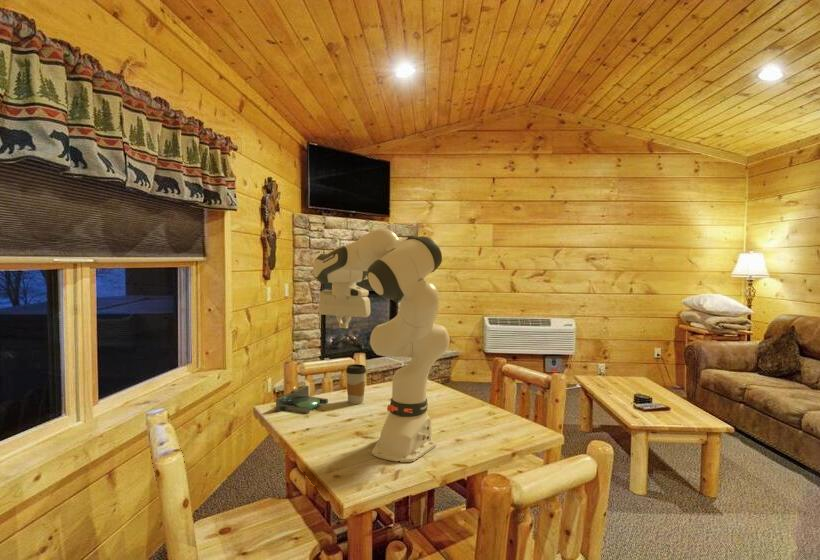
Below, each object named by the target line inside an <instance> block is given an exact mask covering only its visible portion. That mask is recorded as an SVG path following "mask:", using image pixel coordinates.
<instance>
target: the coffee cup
mask: <svg viewBox="0 0 820 560" xmlns="http://www.w3.org/2000/svg"><path fill="white" fill-rule="evenodd" d="M345 372H346V391H347V401H348V403H349V404H350V405H351V404H352V405H360V404H363V403H364V399H365V388H366V372H367V368H366V365H365V364H361V363H360V364H357V363H356V364H354V363H353V364H348V365H347V368H346V370H345Z"/></svg>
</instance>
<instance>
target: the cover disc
mask: <svg viewBox="0 0 820 560" xmlns="http://www.w3.org/2000/svg"><path fill="white" fill-rule="evenodd" d="M311 397H312V396H310V397H307V398H300V399H297V400H295V401H294V405H293V406H294V407H301V408H307V409H310V411H314V409H315V410H318V409H320V407H321V403H320V400H319V399H317V398H318V397H317V398H311ZM317 408H318V409H317Z"/></svg>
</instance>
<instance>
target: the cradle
mask: <svg viewBox="0 0 820 560" xmlns="http://www.w3.org/2000/svg"><path fill="white" fill-rule="evenodd" d="M309 387H310V386H309V385H304V386H302V387H299V388H297V389H296V386H291V387H290V392H288V393H286V394H283V395H282V396H279V397H276V398H275V411H276V412H277V413H280V412H282V411H286V410H288V412H292V411H295V412H294V413H298V412H299V413H300V414H306V415H308V414H309V413H310V412H311V410H310V409H307V408H301V407H294V405H293V404H294V401H295V400H297V399H300V398H307V397H311V398H317V399H319V400H320V404H324V405H325V404H329V398H323V397H315V396H309V393H310V392H309V390H310V389H309ZM291 405H293V406H291Z"/></svg>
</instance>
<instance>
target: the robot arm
mask: <svg viewBox="0 0 820 560" xmlns="http://www.w3.org/2000/svg"><path fill="white" fill-rule="evenodd" d="M442 262H443V255H442V250H441V249H440V246H439V244H438V243H437V242H436V241H435V240H434V239H432V238H430V237H427V236H413V235H408V236H407V237H406V239H400V238H399V237H398V235H397V234H396V233H395V231H392V230H391V229H389V228H377V229H373V230H371V231H370V232H368V233H366V234H365V235H364V236H362V237H361V238H359V239H358V240H355V241H353V242H351V243H349V244H345V245H341V246H337V247H335V248H334V250H333V251H330V252H329V253H320V254H319V255H317V256H316V257H315V259H314V262H313V267H312V271H313V272H312V273H313V276H314V279H316V280H317V282H319V283H320V284H329V283H330V284H331V289H322V290H321V291H320V292H319V296H318V297H319V299H318V300H319V301H318V308H317V309H318V310H317V311H318V313H319V315H325V316H336V318H335V319H336V321H337V322H338V327H339V329H349V323H350V322H351V320H352V317H356V318H367V317H369V316H370V315H371V310H372V309H371V300H370V298H369V297H368V296H369V294H370V293H369V292H370V291H369V290H367V289H366V288H365V287H364V288H363V287H360V286H358V285H357V283H361V282H363V281H364V280H365V279H366V278H367V281H368V283H369V286H370V287H371V289H372V290H373V291H374V292H375V293H376V294H377V295H378V296H379V297H381V298H384V299H386V300H391V301H393V302H400V303H399V306H398V308H399V309H398V312H397V315H395V316H394V317H393V318H392V319H390V320H388V321H386V322H384V323H381V324H378V325H376V326H375V327H374V328H373V330H372V331H371V334H370V338H369V342H370V343H369V344H370V348H371V349H372V351H373V353H375V354H376V355H377V356H382V357H385V358H386V357H387V358H411V359H410V361H409V363H408V364H406V365H405V366H403V367H400V368H399V369H397V370H396V371H395V372H394V373H393V376H392V389H391V390H392V392H391V399H390V403H389V404H388V405H387V406H386V411H387V412H388V414H387V416H386V419H385V422H384V423H383V426H382V429H381V431H380V434H379V435H380V437H379V439H378V440H377V442H376V443H375V445H374V447H373V449H372V450H371V455H373V456H374V457H376V458H379V459H382V460H386V461H392V462H398V461H400V462H399V463H413V462H415V461H417V460H418V459H420V458H421V457H423V455H425V454H427V453H428V452H429V451H431V450H432V449H434V448H436V446H437V442H436V441H435V440H433V431H432V427H433V426H432V419H431V417H430V416H429V415H428V412H427V411H428V406H429V404H428V399H427V386H428V385H427V384H428V377H429V373H430V371H431V370H432V369H431V368H432V367H433V365H435V362H436V361H438V359H439V358H440V357H441V356H443V355H444V354H445V353H446V352H447V350H448V348H449V346H450V341H451V339H450V333H449V331H448V330H447V328H446V327H445V326H444V325H441V324H438V323H435V321H436V318H437V316H438V313H439V312H438V311H439V306H440V294H439V291H438V289H437V288H436V286H435V285H434V283H431V282H430V281H427V280H425V278H426V277H427V276H428V275H430V274H431V273H434V272H435V271H436V270H437V269H438V268H439V267H440V266H441V264H442ZM343 317H344V318H345V321H344V322H343ZM419 457H420V458H419ZM416 459H417V460H416ZM412 461H413V462H412Z"/></svg>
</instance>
